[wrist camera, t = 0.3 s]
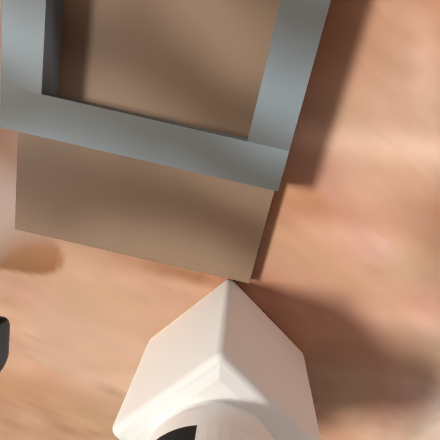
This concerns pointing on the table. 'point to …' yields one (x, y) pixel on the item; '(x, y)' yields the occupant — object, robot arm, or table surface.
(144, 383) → the medicine bottle
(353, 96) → the table surface
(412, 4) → the table surface
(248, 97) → the brown panel with frame
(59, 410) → the table surface
